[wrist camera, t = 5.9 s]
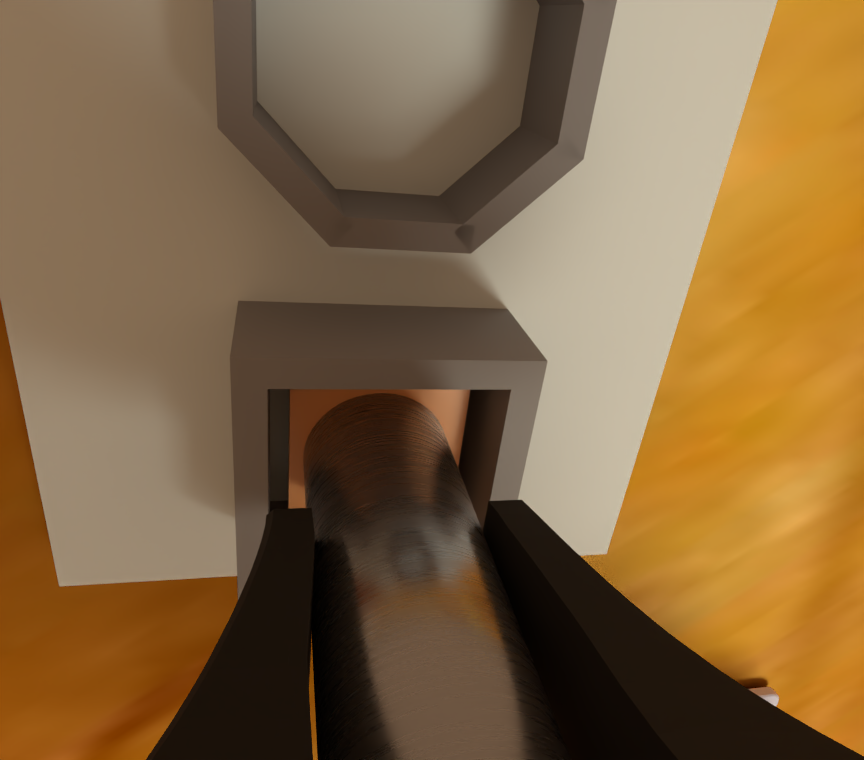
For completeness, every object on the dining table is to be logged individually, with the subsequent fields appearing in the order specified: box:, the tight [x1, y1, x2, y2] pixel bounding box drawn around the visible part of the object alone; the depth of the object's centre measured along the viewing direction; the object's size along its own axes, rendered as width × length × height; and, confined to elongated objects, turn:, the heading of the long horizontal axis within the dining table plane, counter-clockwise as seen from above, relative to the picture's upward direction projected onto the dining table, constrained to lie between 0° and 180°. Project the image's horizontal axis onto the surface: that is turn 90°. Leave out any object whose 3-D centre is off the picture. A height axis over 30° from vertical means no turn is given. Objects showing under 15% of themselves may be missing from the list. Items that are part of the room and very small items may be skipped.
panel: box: [0, 0, 777, 600], centre depth 13 cm, size 14×16×4 cm
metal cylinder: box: [303, 393, 571, 760], centre depth 10 cm, size 3×3×9 cm
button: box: [288, 389, 470, 509], centre depth 14 cm, size 4×4×1 cm
